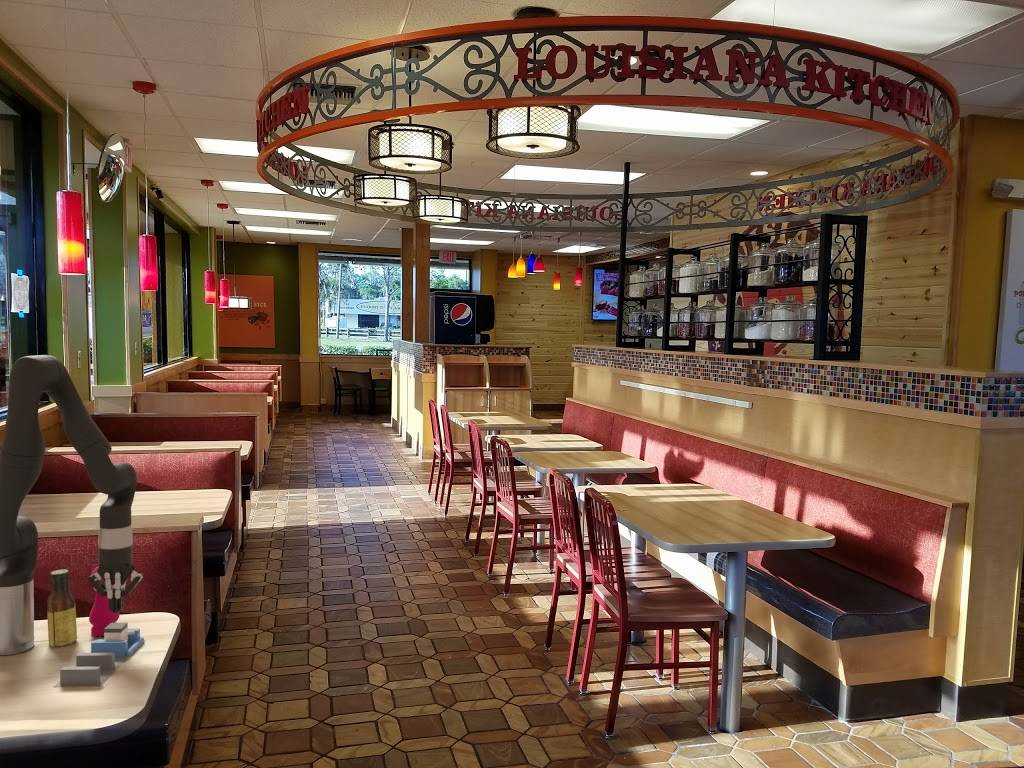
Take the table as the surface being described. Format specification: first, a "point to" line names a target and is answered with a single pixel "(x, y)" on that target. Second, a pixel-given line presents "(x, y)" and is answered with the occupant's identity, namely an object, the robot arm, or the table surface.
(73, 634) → the sauce bottle
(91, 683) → the grey fixture board
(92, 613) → the pepper mill
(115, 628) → the grey block
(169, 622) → the table surface
